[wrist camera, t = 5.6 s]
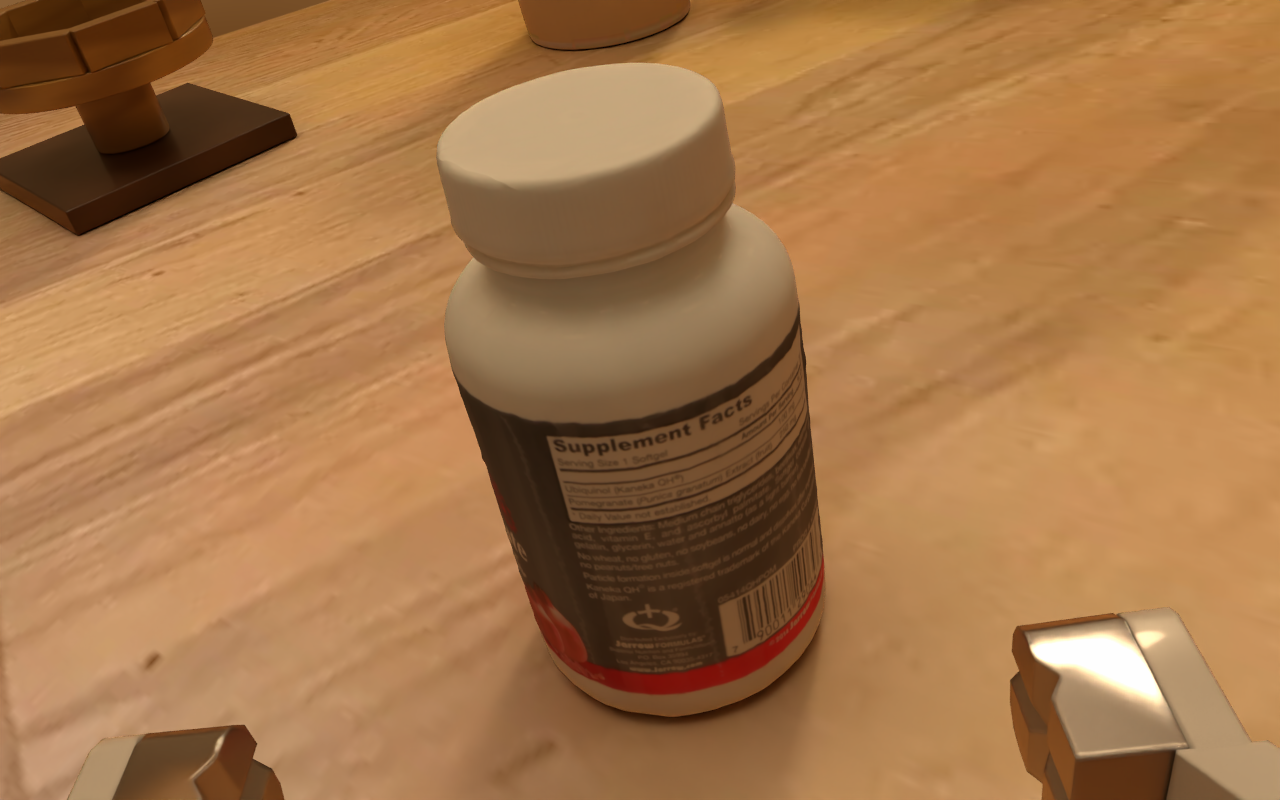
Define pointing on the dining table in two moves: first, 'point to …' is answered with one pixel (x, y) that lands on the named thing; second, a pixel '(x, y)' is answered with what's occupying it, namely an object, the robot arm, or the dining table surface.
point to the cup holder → (118, 107)
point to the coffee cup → (598, 21)
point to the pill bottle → (635, 385)
